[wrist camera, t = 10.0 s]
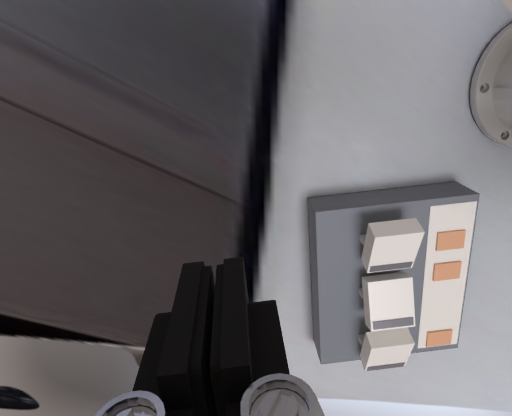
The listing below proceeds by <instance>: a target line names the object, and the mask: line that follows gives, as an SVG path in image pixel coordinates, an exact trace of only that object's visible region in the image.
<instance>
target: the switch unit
mask: <svg viewBox="0 0 512 416" xmlns="http://www.w3.org/2000/svg"><path fill="white" fill-rule="evenodd" d="M307 200H308V223H309V245H310V268H311V291H312V314H313V337H314V343H315V346H316V349H317V353H318V356H319V359H320V363H321V364H328V363H336V362H345V361H353V360H361V358H360V353H361V349H362V345H363V341H364V337H365V333H366V332H371V331H370V329H369V328H368V327H367V326H366V324H365V315H364V301H363V288H362V277H365V276H374V275H382V274H391V273H399V272H405V273H407V274H408V275H410V276H411V277H413V292H414V309H415V327H408V329H409V331H410V333H411V336H412V338H413V340H414V342H415V345H414V347H413V349H412V351H411V353H418V352H426V351H434V350H443V349H451V348H458V341H459V334H460V327H461V320H462V313H463V306H464V299H465V292H466V285H467V278H468V271H469V264H470V257H471V250H472V243H473V236H474V229H475V222H476V215H477V208H478V201H479V193H477V192H475V191H473V190H471V189H469V188H467V187H465V186H463V185H462V184H460V183H458V182H447V183H438V184H429V185H420V186H411V187H402V188H393V189H384V190H374V191H365V192H356V193H347V194H338V195H329V196H320V197H311V198H307ZM410 218H417V220H418V222H419V223H420V225H421V226H422V228H423V230H424V231H425V233H424V236H423V239H422V241H421V244H420V247H419V250H418V253H417V255H416V258H415V261H414V264H413V267H412V268H407V269H398V270H390V271H381V272H373V273H367V272H366V269H365V267H364V264H363V262H362V259H361V258H362V253H363V248H364V243H365V238H366V233H367V228H368V223H374V222H383V221H392V220H401V219H410Z"/></svg>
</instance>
